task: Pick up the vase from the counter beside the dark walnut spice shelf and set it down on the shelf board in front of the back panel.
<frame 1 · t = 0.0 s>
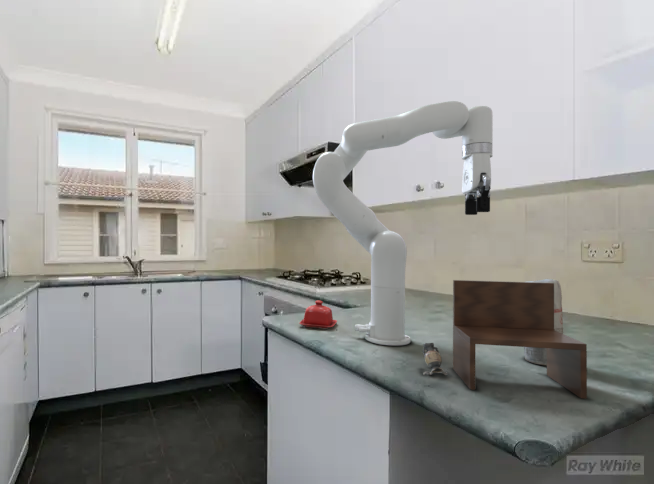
hand: (476, 213, 104), 37 cm above the worktop, tool pointing down, fingers open, 9 cm apart
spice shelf: (513, 382, 76), on the worktop
butter dish: (318, 326, 125), on the worktop
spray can: (543, 362, 89), on the worktop
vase: (432, 372, 82), on the worktop
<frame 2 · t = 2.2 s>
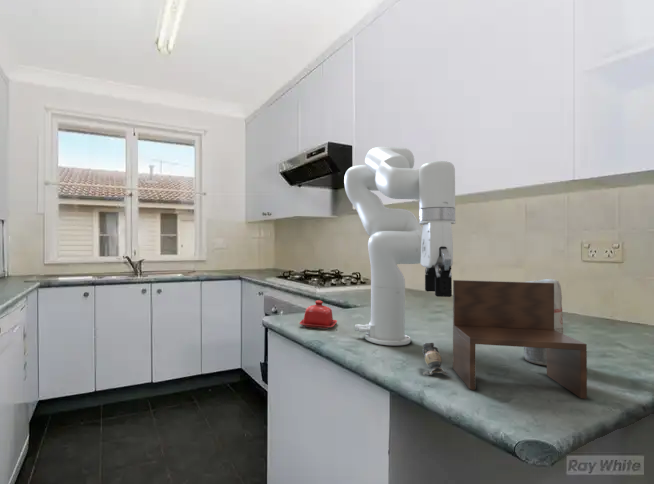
hand: (437, 293, 83), 17 cm above the worktop, tool pointing down, fingers open, 9 cm apart
nothing on the worktop moved.
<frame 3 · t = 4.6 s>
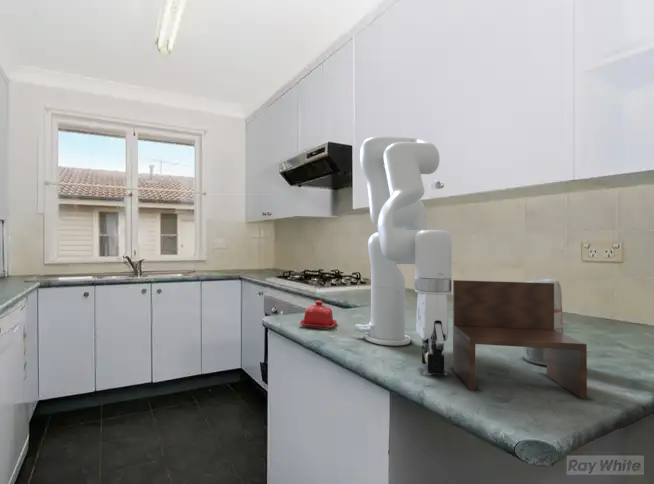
hand: (432, 367, 82), 1 cm above the worktop, tool pointing down, fingers closed on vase, 5 cm apart
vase: (432, 372, 82), on the worktop, touching gripper
everything else where it was.
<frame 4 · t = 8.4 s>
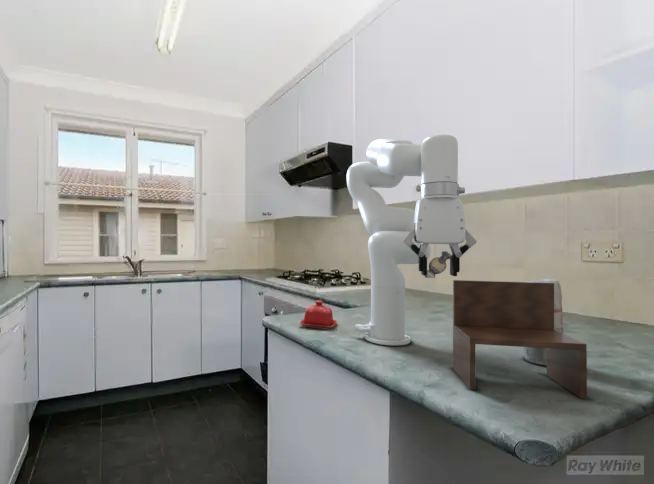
hand: (438, 274, 82), 21 cm above the worktop, tool pointing down, fingers closed on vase, 5 cm apart
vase: (439, 279, 81), point 20 cm above the worktop, touching gripper
everything else where it was.
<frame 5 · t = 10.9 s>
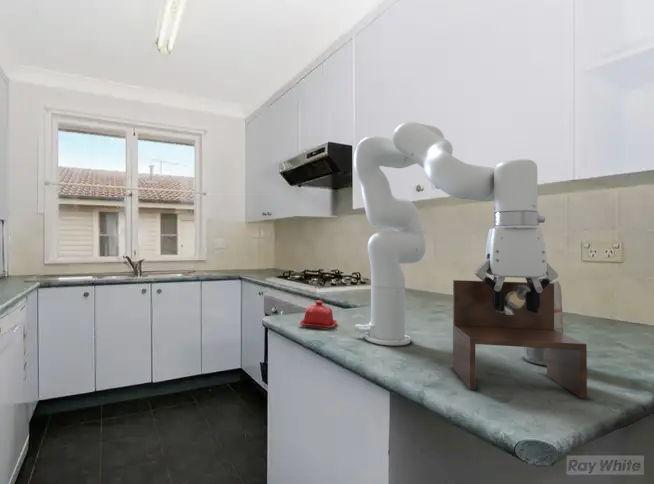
hand: (515, 310, 75), 15 cm above the worktop, tool pointing down, fingers closed on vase, 5 cm apart
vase: (516, 315, 75), point 14 cm above the worktop, touching gripper
everything else where it was.
when the fingers open (11 cm above the worktop, at t = 12.4 s): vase stays where it is, resting on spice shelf.
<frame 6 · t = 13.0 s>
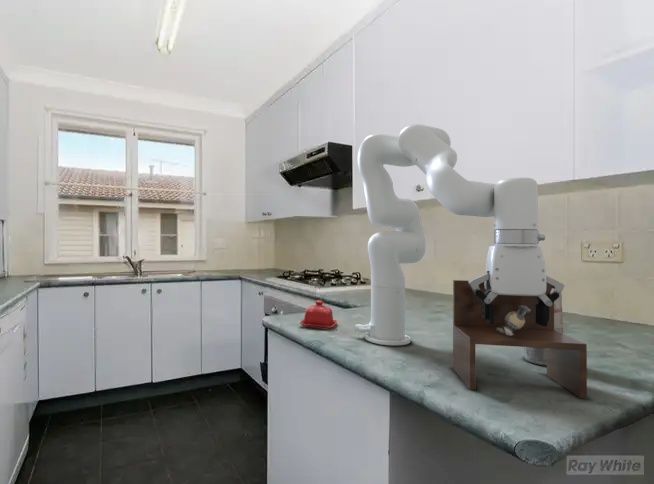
hand: (514, 323, 75), 12 cm above the worktop, tool pointing down, fingers open, 9 cm apart
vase: (516, 335, 75), point 10 cm above the worktop, touching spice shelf
everything else where it was.
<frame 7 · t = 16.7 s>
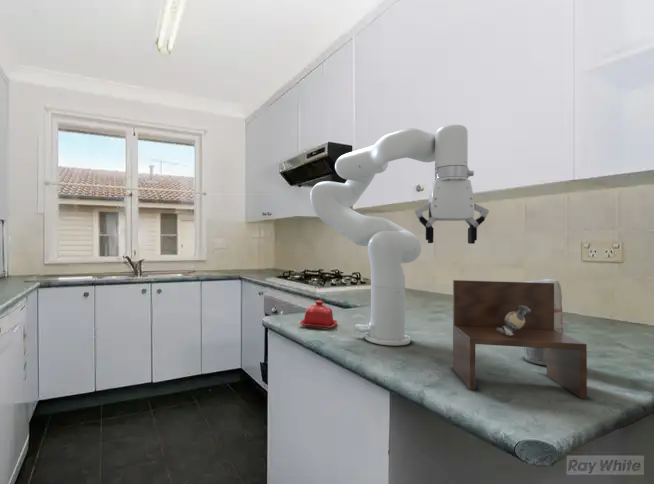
hand: (450, 243, 94), 28 cm above the worktop, tool pointing down, fingers open, 9 cm apart
nothing on the worktop moved.
at the end: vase inside the target area (1.4 cm from its centre), point 9.8 cm above the worktop; the gripper is holding nothing; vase touching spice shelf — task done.
